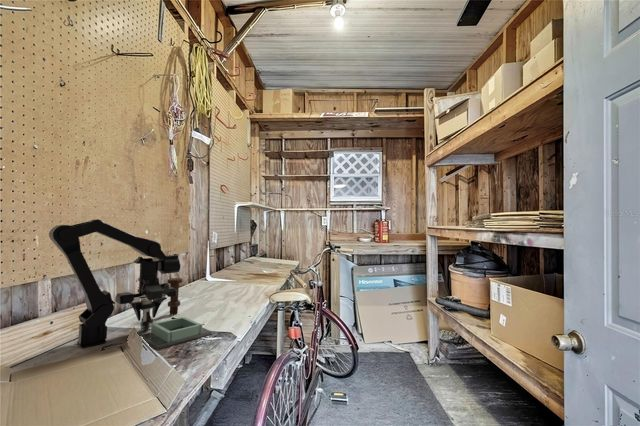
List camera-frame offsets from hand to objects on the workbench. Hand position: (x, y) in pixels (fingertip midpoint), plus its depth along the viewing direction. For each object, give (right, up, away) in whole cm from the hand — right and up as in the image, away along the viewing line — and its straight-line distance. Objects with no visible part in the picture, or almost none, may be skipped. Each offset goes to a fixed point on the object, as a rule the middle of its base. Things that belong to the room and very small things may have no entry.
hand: (146, 319), depth 109 cm
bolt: (0, -6, +21) cm, 22 cm away
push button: (0, -4, 0) cm, 4 cm away
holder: (+13, -4, -5) cm, 15 cm away
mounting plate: (+13, -4, -5) cm, 15 cm away
